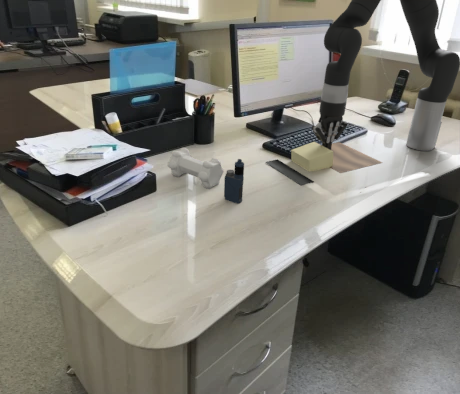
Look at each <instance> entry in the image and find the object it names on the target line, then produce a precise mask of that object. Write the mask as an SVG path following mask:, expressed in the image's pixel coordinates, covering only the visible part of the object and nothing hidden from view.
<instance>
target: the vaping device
mask: <svg viewBox="0 0 460 394" xmlns="http://www.w3.org/2000/svg"><path fill="white" fill-rule="evenodd" d="M244 171H245V162H244V161H243V160H242V159H241V158H238V159H237V161H235V162H234V170H233V169H227V170H226V173H225V176H224V182H223V183H224V185H223V187H224V188H223V190H224V192H223V197H224V200H225V201H227V202H230V203H233V204H241V203H242V201H243V193H244V192H243V189H244V188H243V187H244V174H245V173H244Z"/></svg>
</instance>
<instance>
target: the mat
mask: <svg viewBox="0 0 460 394" xmlns="http://www.w3.org/2000/svg"><path fill="white" fill-rule="evenodd" d="M265 164H267V165H268V166H270V167H272V168H273V169H275V170H276V171H278V172H279V173H281V174H282V175H283V176H285V177H287V178H288V179H290V180H292V181H293V182H295V183H297V184H298V185H300V186H304V185H308V184H312V183H315V181H314V180H312V179H311V178H309V177H307V176H306V175H304V174H303V173H301V172H299V171H297V169H294V168H293V167H291V166H290V165H287V164H286V163H285V162H283V161H281V160H280V159H273V160H269V161H265Z"/></svg>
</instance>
